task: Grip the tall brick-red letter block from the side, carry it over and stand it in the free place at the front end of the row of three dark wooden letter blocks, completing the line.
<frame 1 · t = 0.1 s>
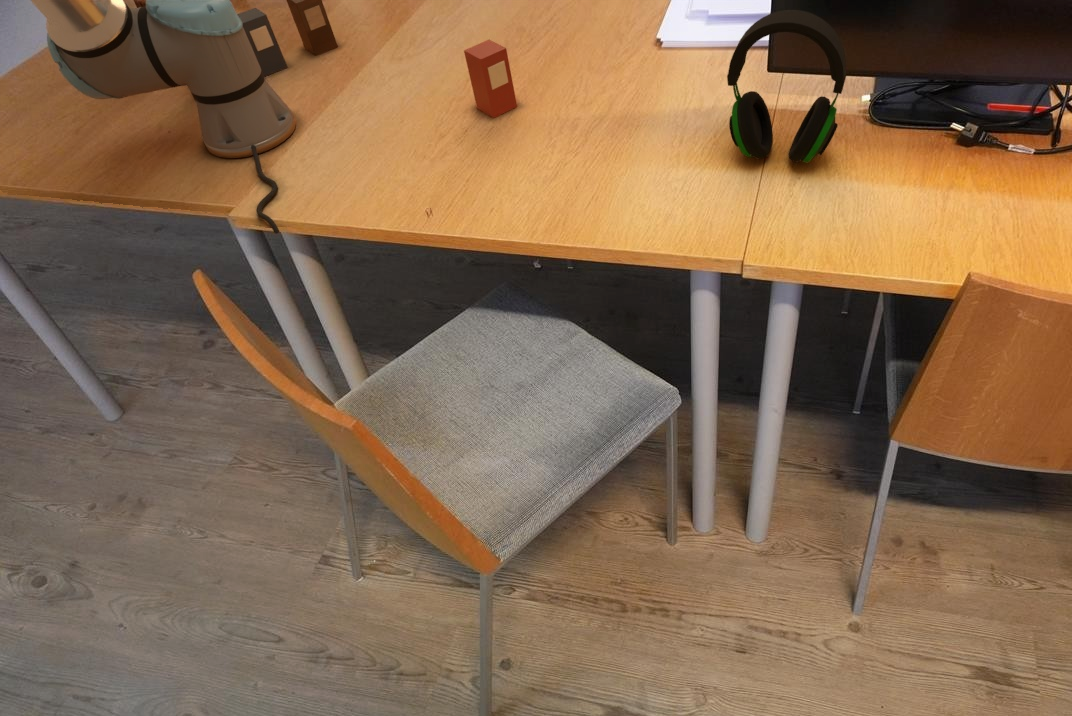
line block 1: (321, 47, 154), on the table
headphones: (779, 156, 114), on the table
line block 2: (270, 68, 150), on the table
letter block: (497, 107, 131), on the table
line block 3: (217, 89, 146), on the table
mug: (191, 50, 160), on the table
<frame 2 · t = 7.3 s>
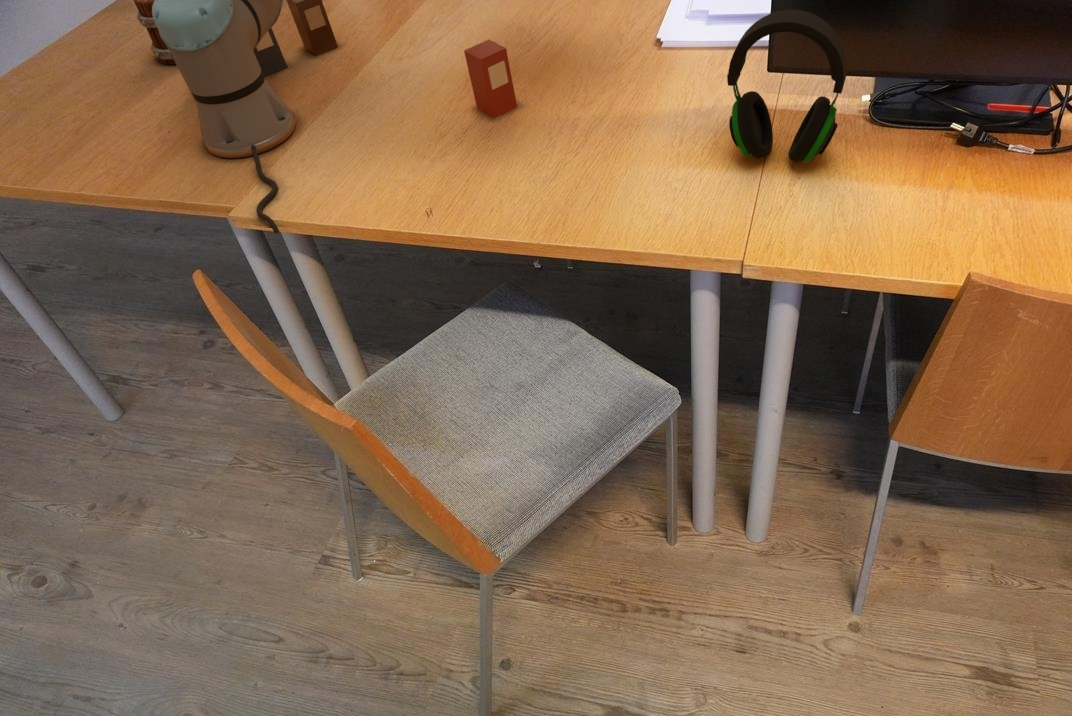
nothing on the table moved.
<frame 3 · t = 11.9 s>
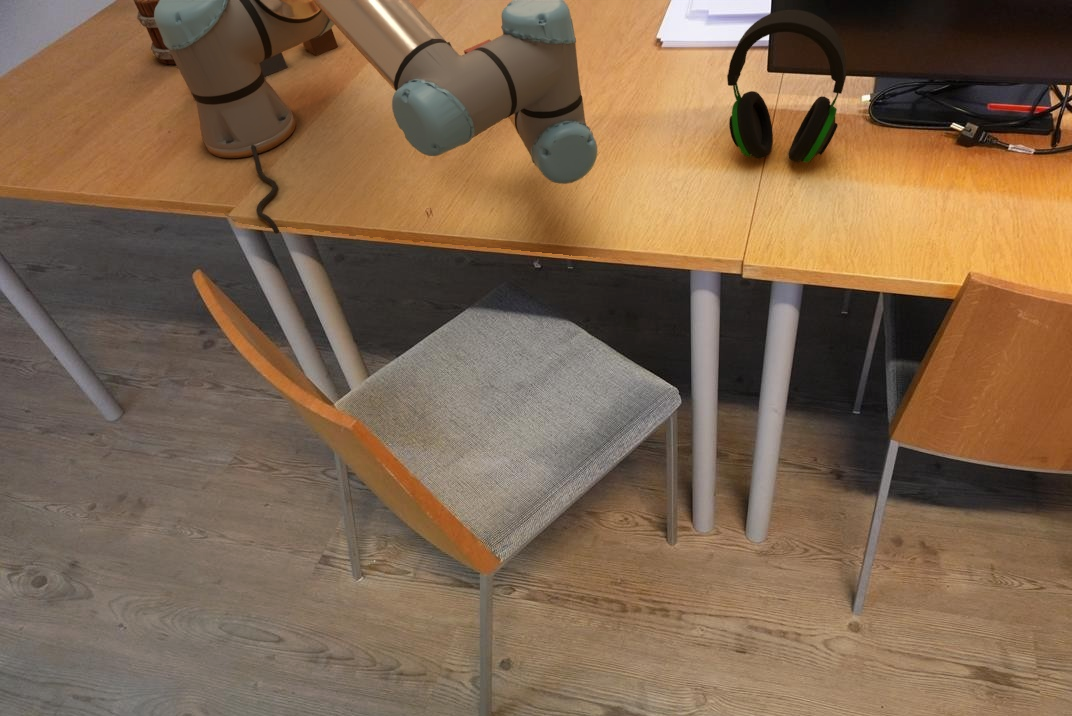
hand: (493, 40, 114), 15 cm above the table, tool horizontal, fingers open, 13 cm apart
nothing on the table moved.
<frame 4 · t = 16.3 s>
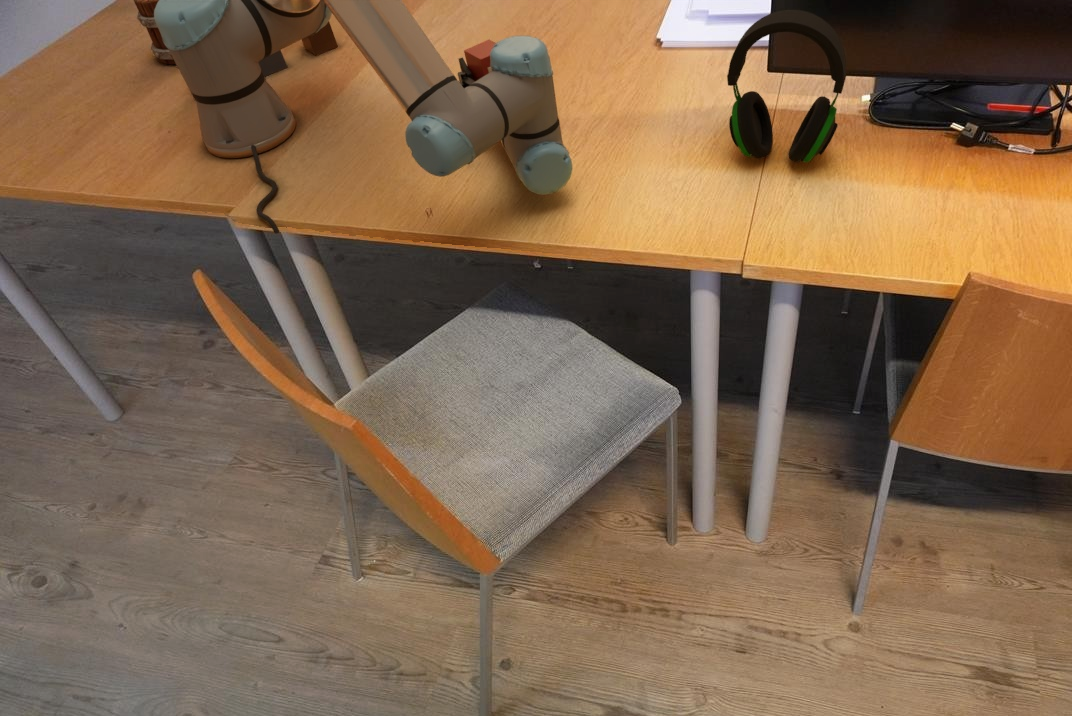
hand: (482, 60, 130), 6 cm above the table, tool horizontal, fingers closed on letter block, 6 cm apart
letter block: (497, 107, 131), on the table, touching gripper
everything else where it was.
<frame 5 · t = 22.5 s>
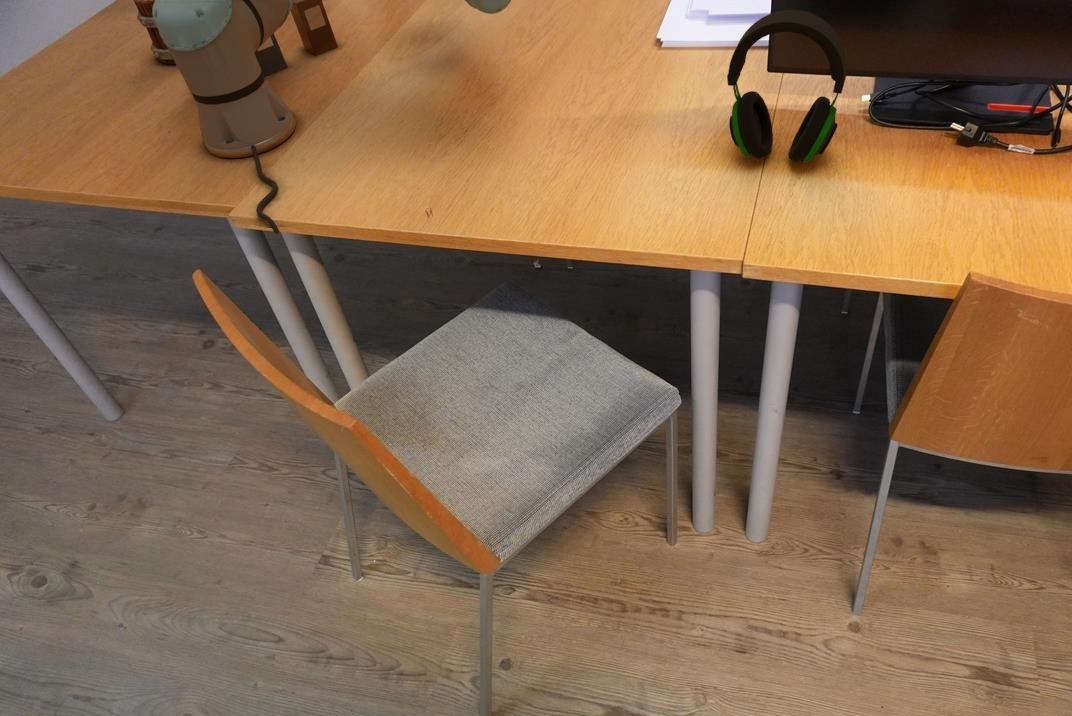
when the fingers open (6 cm above the table, at t = 28.5 s): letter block stays where it is, on the table.
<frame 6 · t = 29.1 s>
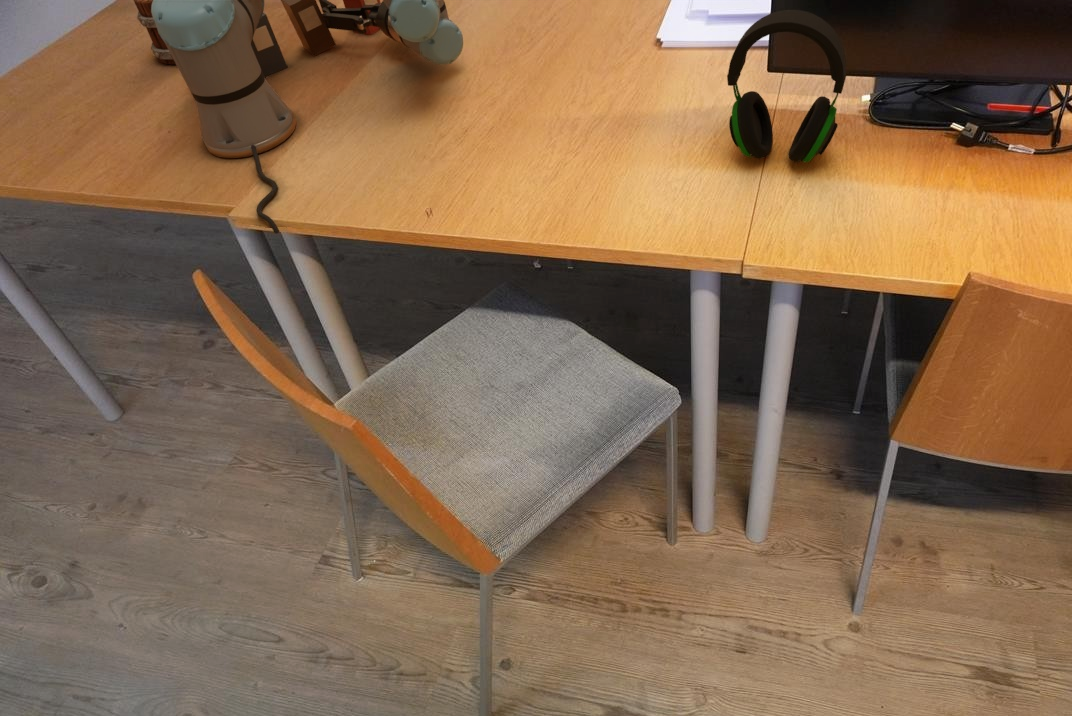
line block 1: (320, 47, 154), on the table, tilted 6°, touching gripper
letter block: (370, 28, 158), on the table
everything else where it was.
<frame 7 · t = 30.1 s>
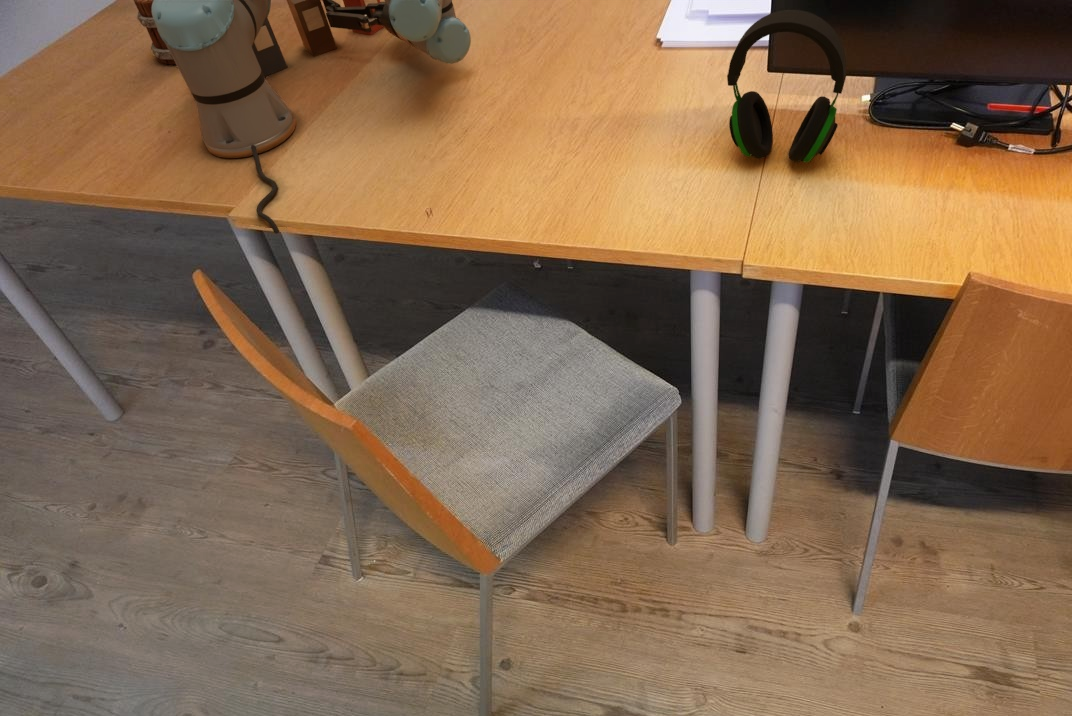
line block 1: (321, 48, 154), on the table
everything else where it was.
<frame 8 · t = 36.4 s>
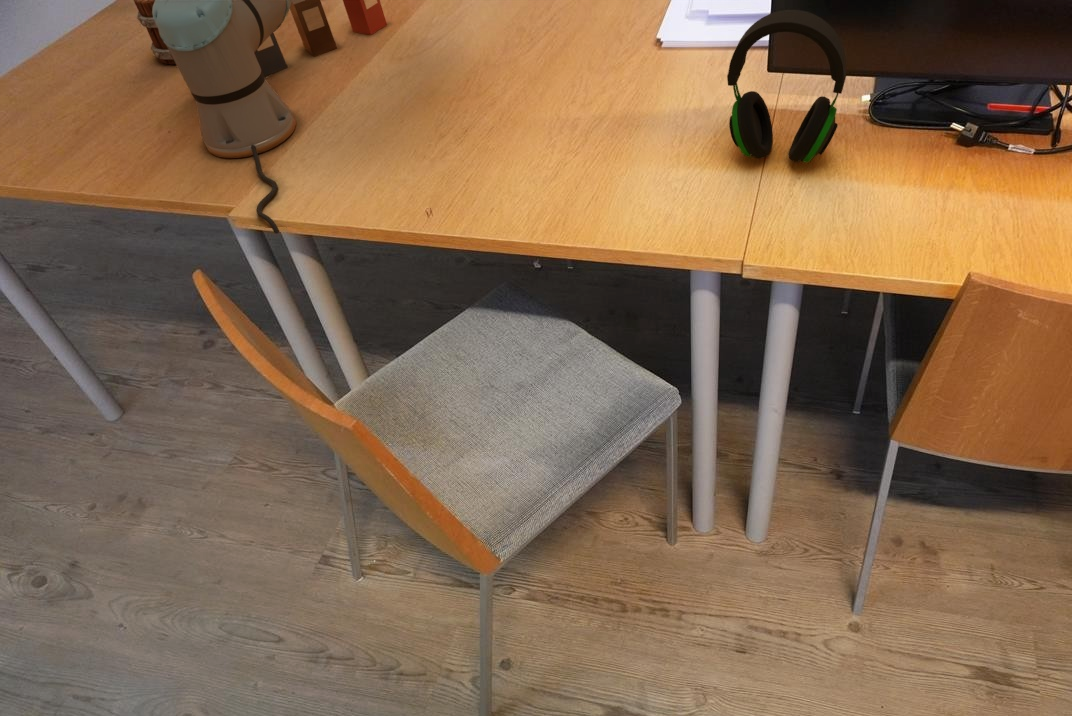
nothing on the table moved.
at the end: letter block 0.4 cm from the target spot on the table beside the line block 1, on the table; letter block tilted 0°; line block 1 moved 0.3 cm from its start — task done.
